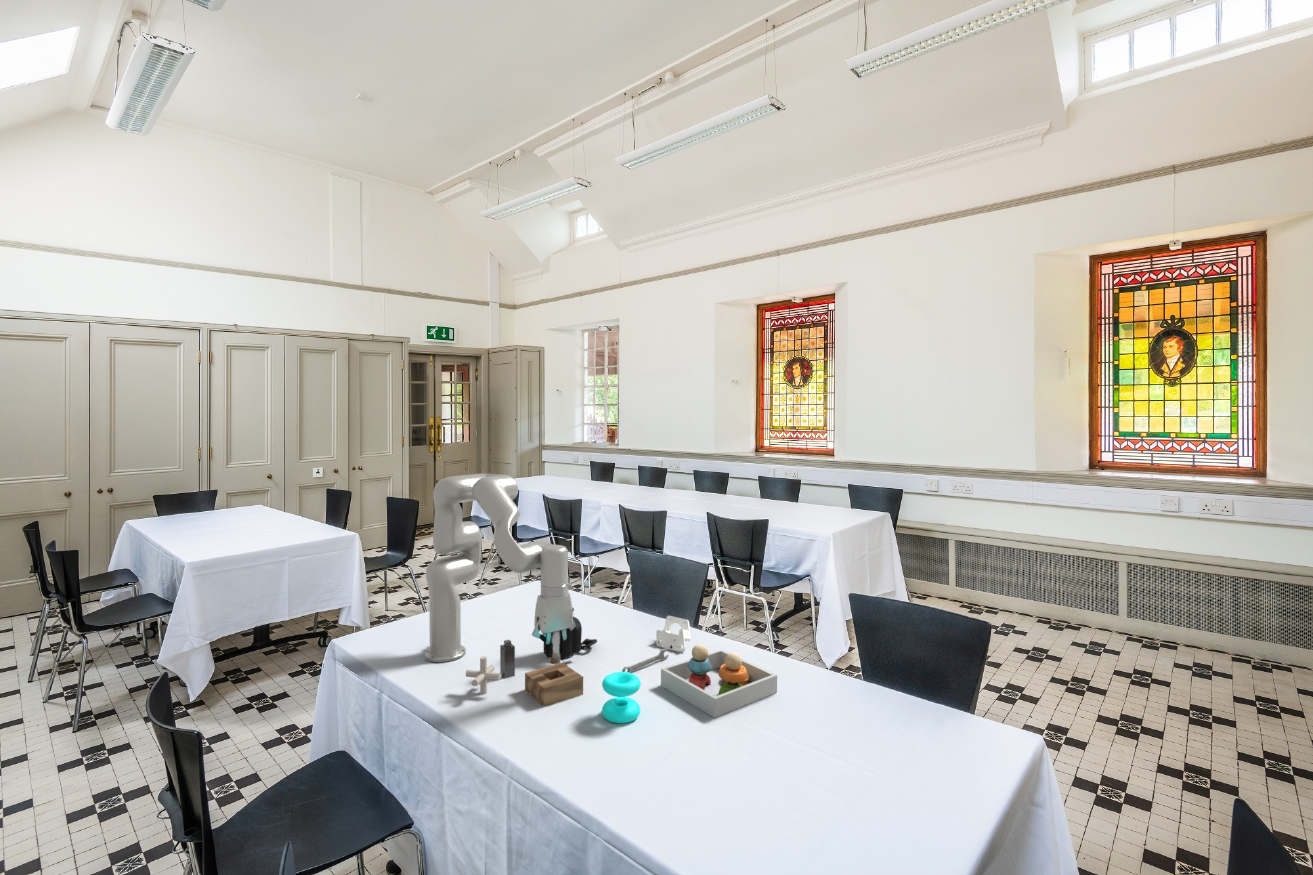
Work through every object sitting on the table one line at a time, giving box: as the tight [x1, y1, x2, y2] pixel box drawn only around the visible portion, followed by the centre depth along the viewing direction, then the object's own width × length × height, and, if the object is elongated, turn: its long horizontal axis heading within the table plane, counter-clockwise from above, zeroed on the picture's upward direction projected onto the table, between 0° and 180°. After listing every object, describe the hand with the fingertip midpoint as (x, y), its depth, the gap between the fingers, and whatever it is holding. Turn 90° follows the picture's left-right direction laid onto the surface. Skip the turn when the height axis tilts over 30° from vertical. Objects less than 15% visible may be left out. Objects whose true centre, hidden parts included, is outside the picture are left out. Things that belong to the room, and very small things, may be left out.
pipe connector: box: [465, 656, 502, 695], centre depth 170 cm, size 10×10×10 cm
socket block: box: [524, 662, 584, 707], centre depth 170 cm, size 12×12×5 cm
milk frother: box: [560, 606, 598, 660], centre depth 199 cm, size 14×16×15 cm
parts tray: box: [660, 649, 778, 719], centre depth 174 cm, size 23×24×5 cm
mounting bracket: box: [655, 615, 692, 653], centre depth 205 cm, size 12×6×11 cm, turn 56°
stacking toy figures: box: [687, 643, 750, 696], centre depth 175 cm, size 18×17×12 cm
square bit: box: [499, 639, 516, 679], centre depth 181 cm, size 3×3×10 cm
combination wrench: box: [621, 648, 669, 673], centre depth 188 cm, size 4×1×20 cm
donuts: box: [601, 671, 641, 724], centre depth 158 cm, size 10×10×10 cm
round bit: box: [548, 630, 561, 665], centre depth 170 cm, size 3×3×10 cm
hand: (554, 653), depth 170 cm, fingers closed on round bit, 3 cm apart
